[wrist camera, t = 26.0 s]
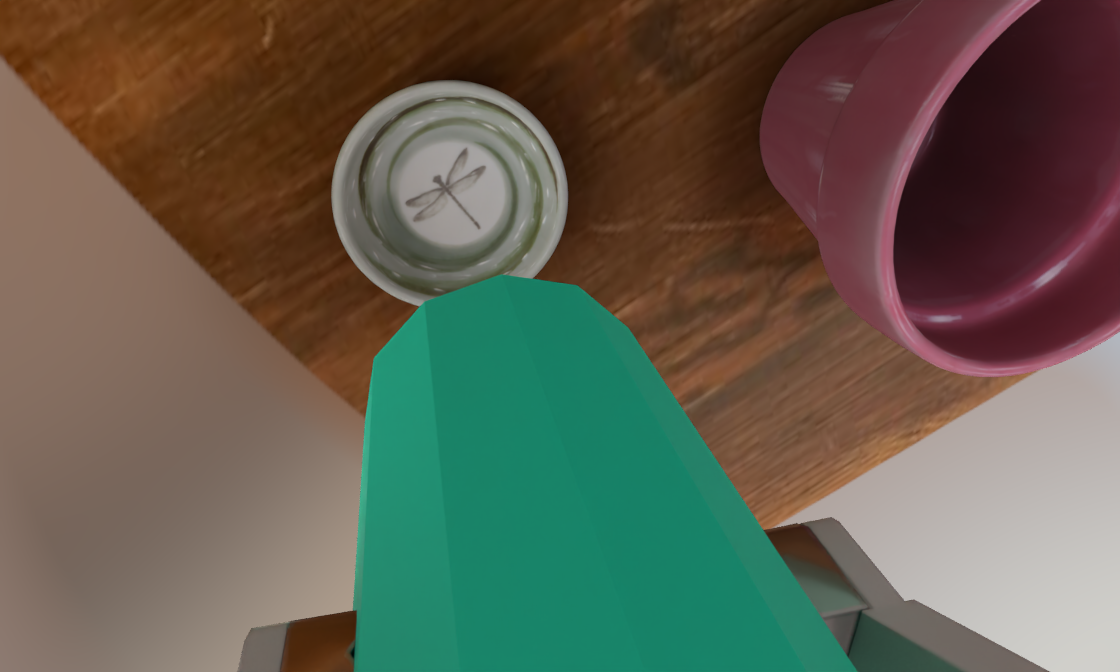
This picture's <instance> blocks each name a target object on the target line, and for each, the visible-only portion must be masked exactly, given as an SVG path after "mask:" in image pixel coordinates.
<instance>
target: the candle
mask: <svg viewBox="0 0 1120 672" xmlns="http://www.w3.org/2000/svg"><path fill="white" fill-rule="evenodd" d="M359 508H360V509H359V523H358V538H357V554H356V571H355V585H354V601H353V611H354V610H357V623H356V641H355V651H354V672H858V671H857V670H856V668H855V667H854V665H853V664H852V662H851V661H850V659H849V658H848V656H847V655H846V653H845V652H844V650H843V649H842V647H841V646H840V644H839V643H838V641H837V640H836V638H835V637H834V635H833V634H832V632H831V631H830V629H829V628H828V626H827V625H826V623H825V622H824V620H823V619H822V618H821V616H820V615H819V613H818V612H817V610H816V609H815V607H814V606H813V604H812V603H811V601H810V600H809V598H808V597H807V595H806V594H805V592H804V591H803V589H802V588H801V586H800V585H799V583H798V582H797V580H796V579H795V577H794V576H793V574H792V573H791V571H790V570H789V568H788V567H787V565H786V564H785V562H784V561H783V559H782V558H781V556H780V555H779V553H778V552H777V550H776V549H775V547H774V546H773V544H772V543H771V541H770V540H769V538H768V537H767V535H766V534H765V532H764V531H763V529H762V528H761V526H760V525H759V523H758V522H757V520H756V519H755V517H754V516H753V514H752V513H751V511H750V510H749V508H748V507H747V505H746V504H745V502H744V501H743V499H742V498H741V496H740V495H739V493H738V492H737V490H736V489H735V487H734V486H733V484H732V483H731V481H730V480H729V478H728V477H727V475H726V474H725V472H724V471H723V469H722V468H721V466H720V465H719V463H718V462H717V460H716V459H715V457H714V456H713V454H712V453H711V451H710V450H709V448H708V447H707V445H706V444H705V442H704V441H703V439H702V438H701V436H700V435H699V433H698V432H697V430H696V429H695V427H694V426H693V424H692V423H691V421H690V420H689V418H688V417H687V415H686V414H685V412H684V411H683V409H682V408H681V406H680V405H679V403H678V402H677V400H676V399H675V397H674V396H673V394H672V393H671V391H670V390H669V388H668V387H667V385H666V384H665V382H664V381H663V379H662V378H661V376H660V375H659V373H658V372H657V370H656V369H655V367H654V366H653V364H652V363H651V361H650V360H649V358H648V357H647V355H646V354H645V352H644V351H643V349H642V348H641V346H640V345H639V343H638V342H637V340H636V339H635V337H634V336H633V334H632V333H631V331H630V330H629V328H628V327H627V326H626V325H624V324H623V323H622V322H621V321H620V320H618V319H617V318H616V317H615V316H614V315H612V314H611V313H610V312H609V311H608V310H606V309H605V308H604V307H603V306H602V305H600V304H599V303H598V302H597V301H596V300H594V299H593V298H592V297H591V296H590V295H588V294H587V293H586V292H585V291H584V290H582V289H581V288H580V287H579V286H578V285H572V284H565V283H558V282H551V281H544V280H537V279H531V278H524V277H517V276H510V275H503V274H501V275H498V276H495V277H492V278H489V279H487V280H484V281H481V282H478V283H475V284H472V285H470V286H467V287H464V288H461V289H458V290H456V291H453V292H450V293H447V294H444V295H441V296H439V297H436V298H433V299H430V300H427V301H425V302H424V303H423V304H422V305H421V306H420V307H419V308H418V309H417V310H416V312H415V313H414V314H413V315H412V316H411V317H410V318H409V319H408V320H407V322H406V323H405V324H404V325H403V326H402V327H401V328H400V329H399V331H398V332H397V333H396V334H395V335H394V336H393V337H392V338H391V340H390V341H389V342H388V343H387V344H386V345H385V346H384V347H383V348H382V350H381V351H380V352H379V353H378V354H377V355H376V356H375V357H374V361H373V368H372V375H371V383H370V390H369V397H368V404H367V411H366V419H365V429H364V444H363V461H362V476H361V491H360V507H359Z"/></svg>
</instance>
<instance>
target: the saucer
mask: <svg viewBox="0 0 1120 672" xmlns="http://www.w3.org/2000/svg"><path fill="white" fill-rule="evenodd" d="M331 200H332V210H333V216H334V221H335V225H336V228H337V231H338V234H339V237H340V239H341V241H342V243H343V245H344V247H345V249H346V251H347V253H348V254H349V256H350V257H351V259H352V260H353V262H354V263H355V265H356V266H357V267H358V268H359V269H360V270H361V271H362V272H363V273H364V274H365V275H366V276H367V277H368V278H369V279H370V280H371V281H372V282H373V283H374V284H376V285H377V286H379V287H380V288H381V289H383V290H384V291H386V292H387V293H389V294H391V295H392V296H394V297H396V298H398V299H400V300H403V301H405V302H408V303H410V304H413V305H417V306H421V305H422V304H423V303H424V302H425V301H427V300H430V299H433V298H436V297H439V296H441V295H444V294H447V293H450V292H453V291H456V290H458V289H461V288H464V287H467V286H470V285H472V284H475V283H478V282H481V281H484V280H487V279H489V278H492V277H495V276H498V275H501V274H503V275H510V276H517V277H524V278H531V279H532V278H534V277H535V276H536V275H537V274H538V272H539V271H540V270H541V269H542V268H543V267H544V265H545V264H546V263H547V262H548V260H549V259H550V257H551V255H552V254H553V252H554V250H555V248H556V246H557V244H558V242H559V240H560V237H561V235H562V232H563V229H564V226H565V221H566V216H567V208H568V184H567V178H566V173H565V169H564V165H563V162H562V159H561V156H560V154H559V151H558V149H557V147H556V145H555V143H554V141H553V139H552V138H551V136H550V135H549V133H548V132H547V130H546V129H545V128H544V126H543V125H542V124H541V123H540V121H539V120H538V119H537V118H536V117H535V116H534V115H533V114H532V113H531V112H530V111H529V110H528V109H526V108H525V107H524V106H523V105H521V104H520V103H519V102H517V101H516V100H514V99H513V98H511V97H509V96H508V95H506V94H504V93H502V92H500V91H497V90H495V89H493V88H490V87H487V86H484V85H481V84H477V83H472V82H467V81H459V80H439V81H430V82H424V83H420V84H416V85H413V86H410V87H407V88H404V89H402V90H400V91H397V92H395V93H393V94H391V95H389V96H388V97H386V98H384V99H383V100H381V101H380V102H379V103H377V104H376V105H375V106H373V107H372V108H371V109H370V110H369V111H368V112H367V113H366V114H365V115H364V116H363V117H362V118H361V119H360V120H359V121H358V122H357V124H356V125H355V126H354V127H353V129H352V130H351V132H350V133H349V135H348V137H347V138H346V140H345V142H344V144H343V146H342V148H341V150H340V153H339V156H338V158H337V161H336V165H335V169H334V174H333V179H332V191H331Z"/></svg>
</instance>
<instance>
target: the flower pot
mask: <svg viewBox="0 0 1120 672" xmlns="http://www.w3.org/2000/svg"><path fill="white" fill-rule="evenodd" d="M760 149H761V156H762V161H763V164H764V167H765V170H766V172H767V175H768V177H769V179H770V181H771V182H772V184H773V186H774V187H775V188H776V190H777V191H778V192H779V193H780V194H781V195H782V196H783V197H784V199H785V200H786V201H787V202H788V203H789V205H790V206H791V207H792V208H793V210H794V211H795V212H796V213H797V215H798V216H799V217H800V219H801V220H802V221H803V222H804V224H805V225H806V226H807V227H808V229H809V230H810V231H811V232H812V234H813V235H814V236H815V237H816V239H817V240H818V243H819V248H820V253H821V257H822V261H823V264H824V266H825V269H826V272H827V274H828V276H829V278H830V280H831V282H832V284H833V286H834V288H835V289H836V291H837V293H838V294H839V295H840V297H841V298H842V299H843V301H844V302H845V303H846V304H847V305H848V306H849V308H850V309H851V310H852V311H854V312H855V313H856V314H857V315H858V316H859V317H861V318H862V319H863V320H865V321H866V322H867V323H868V324H870V325H871V326H873V327H874V328H875V329H877V330H878V331H880V332H881V333H883V334H884V335H886V336H887V337H889V338H890V339H892V340H893V341H895V342H896V343H898V344H899V345H901V346H902V347H904V348H906V349H907V350H909V351H911V352H912V353H914V354H916V355H917V356H919V357H921V358H922V359H924V360H926V361H927V362H929V363H931V364H933V365H935V366H937V367H940V368H942V369H945V370H947V371H951V372H954V373H959V374H964V375H969V376H977V377H1003V376H1012V375H1018V374H1024V373H1028V372H1032V371H1036V370H1040V369H1043V368H1047V367H1050V366H1053V365H1056V364H1058V363H1061V362H1063V361H1066V360H1068V359H1070V358H1073V357H1075V356H1077V355H1079V354H1081V353H1083V352H1085V351H1088V350H1089V349H1091V348H1093V347H1095V346H1097V345H1099V344H1101V343H1102V342H1104V341H1106V340H1108V339H1109V338H1111V337H1112V336H1114V335H1115V334H1117V333H1118V332H1120V0H893V1H890V2H887V3H884V4H881V5H878V6H876V7H873V8H870V9H867V10H864V11H860V12H857V13H854V14H850V15H847V16H844V17H841V18H839V19H837V20H835V21H832V22H830V23H828V24H827V25H825V26H823V27H822V28H820V29H819V30H817V31H816V32H815V33H813V34H812V35H811V36H809V37H808V38H807V39H806V40H805V41H804V42H803V43H802V44H801V45H800V46H799V47H798V48H797V49H796V50H795V51H794V52H793V53H792V55H791V56H790V57H789V58H788V60H787V61H786V62H785V64H784V65H783V67H782V68H781V70H780V71H779V73H778V75H777V77H776V78H775V80H774V82H773V84H772V86H771V89H770V91H769V93H768V96H767V99H766V102H765V105H764V109H763V113H762V118H761V124H760Z"/></svg>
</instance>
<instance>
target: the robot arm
mask: <svg viewBox="0 0 1120 672" xmlns="http://www.w3.org/2000/svg"><path fill="white" fill-rule="evenodd" d="M763 531H764V532H765V534H766V535H767V537H768V538H769V540H770V541H771V543H772V544H773V546H774V547H775V549H776V550H777V552H778V553H779V555H780V556H781V558H782V559H783V561H784V562H785V564H786V565H787V567H788V568H789V570H790V571H791V573H792V574H793V576H794V577H795V579H796V580H797V582H798V583H799V585H800V586H801V588H802V589H803V591H804V592H805V594H806V595H807V597H808V598H809V600H810V601H811V603H812V604H813V606H814V607H815V609H816V610H817V612H818V613H819V615H820V616H821V618H822V619H823V620H824V622H825V623H826V625H827V626H828V628H829V629H830V631H831V632H832V634H833V635H834V637H835V638H836V640H837V641H838V643H839V644H840V646H841V647H842V649H843V650H844V652H845V653H846V655H847V656H848V658H849V659H850V661H851V662H852V664H853V665H854V667H855V668H856V670H857V671H858V672H1049V671H1047V670H1045V669H1043V668H1042V667H1040V666H1038V665H1036V664H1034V663H1032V662H1030V661H1028V660H1027V659H1025V658H1023V657H1021V656H1019V655H1017V654H1015V653H1013V652H1012V651H1010V650H1008V649H1006V648H1004V647H1002V646H1000V645H998V644H996V643H995V642H993V641H991V640H989V639H987V638H985V637H983V636H982V635H980V634H978V633H976V632H974V631H972V630H970V629H968V628H966V627H965V626H963V625H961V624H959V623H957V622H955V621H953V620H951V619H950V618H948V617H946V616H944V615H942V614H940V613H938V612H936V611H935V610H933V609H931V608H929V607H927V606H925V605H923V604H921V603H919V602H918V601H915V600H909V601H904V600H903V598H902V597H901V596H900V595H899V594H898V592H897V591H896V590H895V589H894V588H893V586H892V585H891V584H890V583H889V581H888V580H887V579H886V578H885V577H884V575H883V574H882V573H881V572H880V571H879V569H878V568H877V567H876V566H875V564H874V563H873V562H872V561H871V560H870V558H869V557H868V556H867V555H866V554H865V552H864V551H863V550H862V549H861V548H860V546H859V545H858V544H857V543H856V542H855V540H854V539H853V538H852V537H851V536H850V534H849V533H848V532H847V531H846V529H845V528H844V527H843V526H842V525H841V523H840V522H839V521H837V520H835V519H834V518H832V517H830V518H825V519H820V520H815V521H810V522H805V523H801V524H797V523H796V524H792V525H787V526H782V527H777V528H772V529H767V530H763ZM356 623H357V610H354V611H348V612H342V613H337V614H330V615H324V616H318V617H312V618H306V619H300V620H295V621H290V622H284V623H279V624H273V625H268V626H262V627H256V628H251V630H250V632H249V634H248V635H247V637H246V639H245V641H244V645H243V650H242V654H241V658H240V663H239V667H238V671H237V672H354V651H355V641H356Z"/></svg>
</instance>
